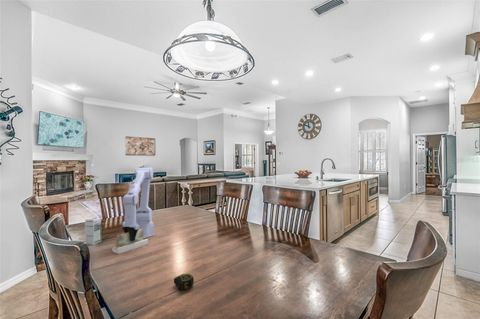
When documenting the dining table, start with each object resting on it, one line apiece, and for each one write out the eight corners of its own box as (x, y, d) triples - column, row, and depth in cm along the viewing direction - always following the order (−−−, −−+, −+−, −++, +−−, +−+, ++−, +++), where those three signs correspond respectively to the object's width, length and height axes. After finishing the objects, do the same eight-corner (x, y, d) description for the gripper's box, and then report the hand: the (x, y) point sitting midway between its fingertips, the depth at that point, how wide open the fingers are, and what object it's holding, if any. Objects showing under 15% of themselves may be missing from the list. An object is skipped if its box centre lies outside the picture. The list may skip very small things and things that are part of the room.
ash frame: (140, 242, 137) (140, 228, 137) (143, 243, 136) (143, 229, 136) (116, 250, 126) (116, 235, 126) (118, 251, 124) (118, 236, 124)
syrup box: (93, 245, 135) (93, 219, 135) (85, 244, 136) (85, 219, 136) (101, 241, 141) (101, 217, 141) (93, 240, 142) (93, 216, 142)
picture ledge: (141, 242, 140) (141, 236, 140) (148, 244, 136) (148, 238, 136) (111, 251, 126) (111, 244, 126) (118, 254, 122) (118, 247, 122)
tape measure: (173, 285, 92) (173, 276, 92) (189, 280, 96) (189, 271, 96) (179, 293, 86) (179, 283, 86) (196, 288, 90) (196, 278, 90)
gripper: (116, 215, 132) (116, 239, 132) (130, 219, 123) (130, 245, 123) (129, 213, 138) (129, 236, 138) (142, 216, 129) (142, 241, 129)
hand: (130, 240), depth 131 cm, fingers open, 4 cm apart
